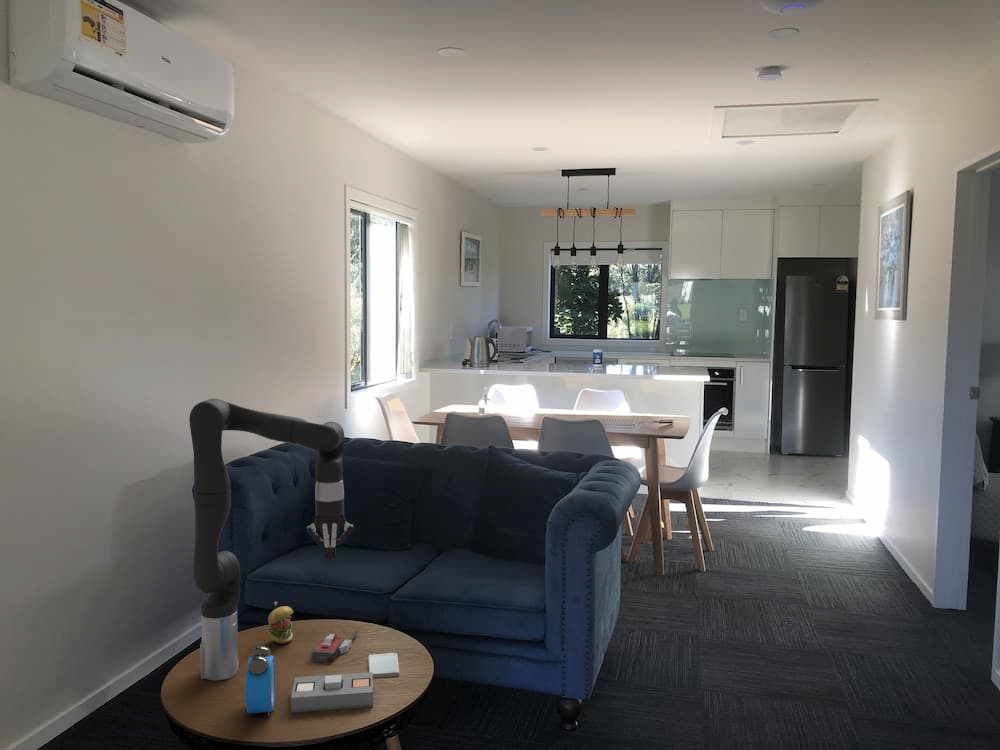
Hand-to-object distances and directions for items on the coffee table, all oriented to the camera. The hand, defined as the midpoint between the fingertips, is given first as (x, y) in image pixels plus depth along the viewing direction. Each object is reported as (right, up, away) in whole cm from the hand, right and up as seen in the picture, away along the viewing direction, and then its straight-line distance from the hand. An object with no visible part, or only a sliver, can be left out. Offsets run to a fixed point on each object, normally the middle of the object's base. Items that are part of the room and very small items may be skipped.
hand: (330, 559), depth 216 cm
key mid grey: (+3, -31, -11) cm, 33 cm away
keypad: (+3, -33, -11) cm, 35 cm away
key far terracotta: (+10, -32, -10) cm, 35 cm away
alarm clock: (-14, -34, -16) cm, 40 cm away
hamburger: (-20, -30, +24) cm, 43 cm away
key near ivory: (-4, -33, -12) cm, 35 cm away
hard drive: (+13, -32, +8) cm, 36 cm away
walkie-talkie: (-3, -31, +19) cm, 37 cm away
